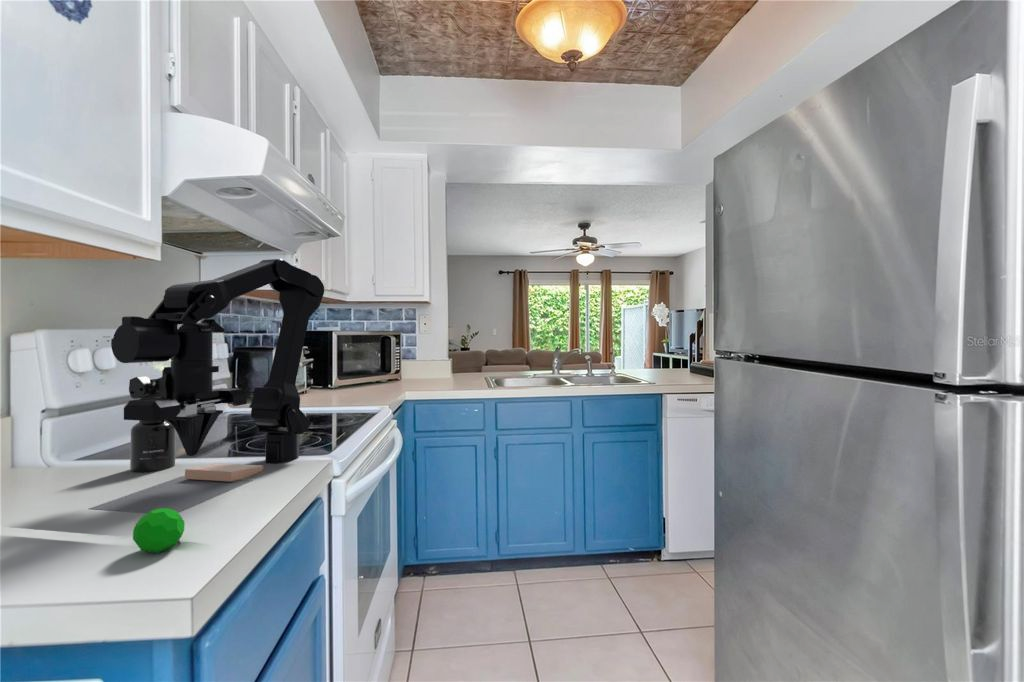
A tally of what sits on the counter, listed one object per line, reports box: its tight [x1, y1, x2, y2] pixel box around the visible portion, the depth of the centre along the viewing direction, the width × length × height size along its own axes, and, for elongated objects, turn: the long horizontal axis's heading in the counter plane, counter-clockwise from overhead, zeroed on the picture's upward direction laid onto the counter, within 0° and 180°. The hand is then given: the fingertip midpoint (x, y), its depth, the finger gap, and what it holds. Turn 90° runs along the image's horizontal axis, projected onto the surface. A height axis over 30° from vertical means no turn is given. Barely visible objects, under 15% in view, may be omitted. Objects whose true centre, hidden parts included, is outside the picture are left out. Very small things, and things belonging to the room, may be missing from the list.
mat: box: [88, 475, 254, 514], centre depth 75 cm, size 16×14×1 cm
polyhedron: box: [132, 508, 185, 553], centre depth 57 cm, size 5×5×5 cm
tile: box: [184, 462, 264, 482], centre depth 85 cm, size 2×9×8 cm
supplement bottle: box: [129, 420, 177, 474], centre depth 90 cm, size 7×7×12 cm
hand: (191, 455), depth 78 cm, fingers closed
